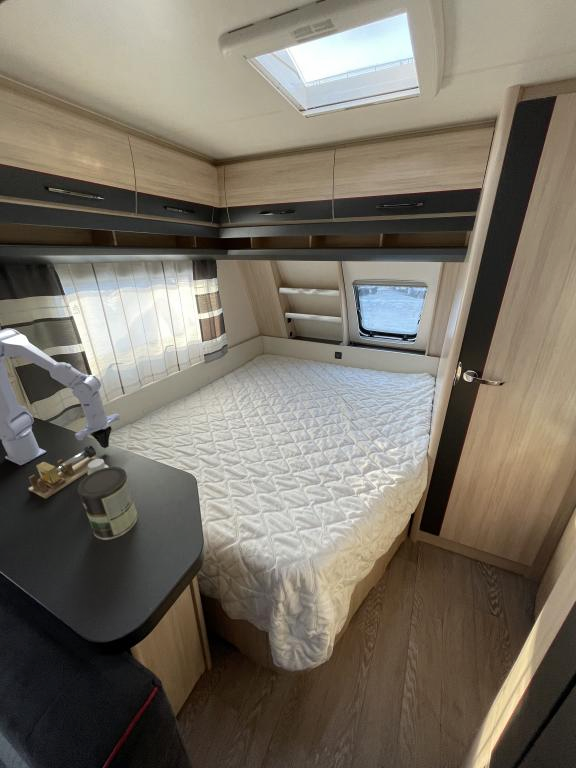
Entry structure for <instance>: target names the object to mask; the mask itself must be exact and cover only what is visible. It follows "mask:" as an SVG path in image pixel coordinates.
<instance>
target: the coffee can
mask: <svg viewBox="0 0 576 768" xmlns="http://www.w3.org/2000/svg"><path fill="white" fill-rule="evenodd" d="M76 490H77V494H78V496H79V497H80V500H81V502H82V505H83V508H84V510H85V513H86V515H87V518H88V520H89V524H90V526H91V529H92V532H93V534H94V537H96V538H97V539H99V540H102V541H108V540H115V539H117V538H119V537H121V536H124V534H126V533H128V532H129V531H130V530H131V529H132V528H133V527H134V526H135V525H136V523H137V521H138V515H139V514H138V512H137V509H136V506H135V502H134V499H133V494H132V492H131V489H130V485H129V481H128V475H127V472H126V470H125V469H124V468H122V467H118V466H110V467H109V466H108V468H103V469H100V470H97V471H95V472H93V473H91V474H89V475H88V474H87V475H86V476H85V477H84V478H82V479H81V481H80V482H79V484H78V486H77V489H76Z"/></svg>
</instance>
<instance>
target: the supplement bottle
mask: <svg viewBox="0 0 576 768" xmlns="http://www.w3.org/2000/svg"><path fill="white" fill-rule="evenodd" d="M108 467H109V465H108V464H105V460H104V459H103V458H100V459H95V460H93V461H91V462H90V463H89V464H88V469H89V471H88V472H87V476H88V475H89V474H91V473H93V472H95V471H97V470H100V469H103V468H108Z"/></svg>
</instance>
